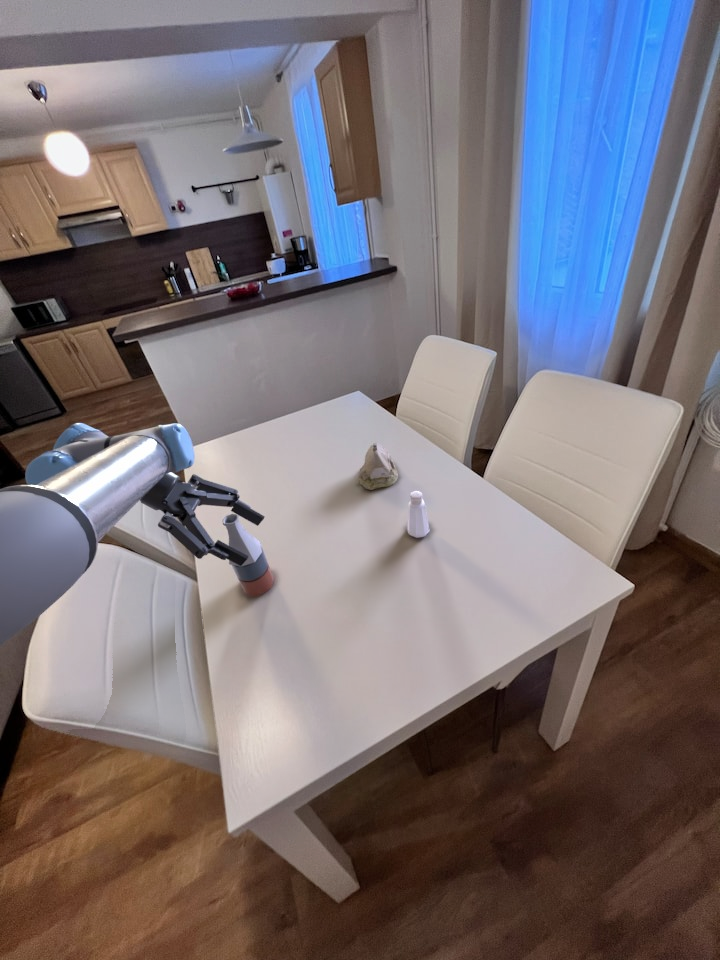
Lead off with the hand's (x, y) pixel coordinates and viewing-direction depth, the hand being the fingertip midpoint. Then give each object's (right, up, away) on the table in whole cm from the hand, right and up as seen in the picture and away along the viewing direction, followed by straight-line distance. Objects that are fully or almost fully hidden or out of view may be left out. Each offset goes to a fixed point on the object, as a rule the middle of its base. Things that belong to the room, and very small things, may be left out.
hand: (253, 540), depth 82 cm
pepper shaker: (+36, 0, +15) cm, 39 cm away
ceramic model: (+27, +14, +36) cm, 47 cm away
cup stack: (-1, -11, +8) cm, 14 cm away
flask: (-2, -4, +3) cm, 5 cm away
